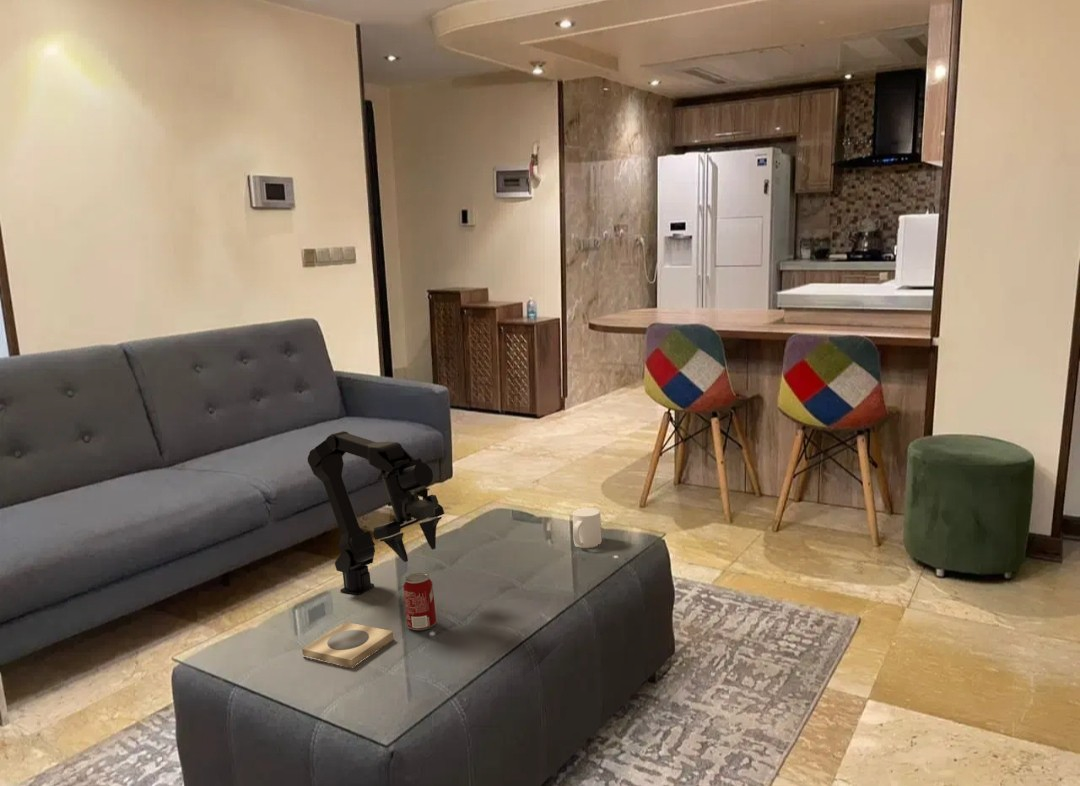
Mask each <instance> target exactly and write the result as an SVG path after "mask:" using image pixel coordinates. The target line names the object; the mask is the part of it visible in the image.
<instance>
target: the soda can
mask: <svg viewBox="0 0 1080 786" xmlns="http://www.w3.org/2000/svg"><path fill="white" fill-rule="evenodd" d="M404 581H405V582H404V583H403V587H402V588H403V598H404V599H403V600H404V607H405V608H404V609H405V616H406V617H405V618H406V626H407V628H408V629H411V630H413V631H418V632H420V631H421V632H423V631H427V630H429V629H431V628H432V627H434V626H435V625H436V623H437V615H436V614H437V613H436V606H435V605H436V604H435V595H434V585H433V581H432V580H431V579H430V575H429V574H428V573H426V572H416V573H412V574H411V573H410V574H409V575H407V576H406V577H405V579H404Z"/></svg>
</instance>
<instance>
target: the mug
mask: <svg viewBox="0 0 1080 786" xmlns="http://www.w3.org/2000/svg"><path fill="white" fill-rule="evenodd" d="M601 520H602V518H601V510H600V509H598V508H595V507H582V508H578V509H575V510H574V511H573V512H572V530H573V531H572V535H573V544H574V546H575V547H576V548H578V547H579V549H591V548H595V547H598V546H599V545H600V544H602V540H603V539H602V529H601V527H602V521H601ZM598 544H599V545H598ZM590 547H591V548H590Z"/></svg>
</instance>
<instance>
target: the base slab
mask: <svg viewBox="0 0 1080 786" xmlns="http://www.w3.org/2000/svg"><path fill="white" fill-rule="evenodd" d="M394 638H395V637H394V632H393V630H388V629H383V628H377V627H372V626H368V625H362V624H357V623H354V622H353V623H352V622H348V621H345V622H343V623H342V624H340V625H339V626H337V627H335V628H334V629H332V630H331V631H329V632H327V633H325V634H324V635H322V636H320V637H319V638H317V639H316V640H314V641H313V642H311V643H309V644H308V645H306V646H305V647H303V648H302V649H301V651H302V656H303V655H304V656H308V657H312V658H316V659H320V660H323V661H327V662H330V663H335V664H339V665H342V666H347V667H351V668H352V667H354V666H355V665H356V664H357V663H359V662H360V661H361V660H363V659H364V658H366V657H367V656H369V655H371V654H372V653H374V652H375V651H376V650H378V649H380V648H381V649H382V647H383V646H384V647H385V646H387V645H388V644H390V643H391V642H392V641H394V640H395V639H394ZM389 642H390V643H389ZM384 647H383V648H384ZM381 649H380V650H381ZM378 651H379V650H378ZM375 653H376V652H375ZM375 653H374V654H375ZM371 656H372V655H371ZM342 666H341V667H342ZM355 667H356V666H355ZM355 667H354V668H355ZM351 668H350V669H351Z"/></svg>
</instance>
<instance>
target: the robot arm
mask: <svg viewBox="0 0 1080 786" xmlns="http://www.w3.org/2000/svg"><path fill="white" fill-rule="evenodd" d="M346 453H347V454H350V455H353V456H356V457H359V458H362V459H364V460H366V461H367V462H368V463H369V465H370V466H372V467H373V468H375V469H377V470H379V471H380V473H379V475H378V476H377V481H378V482H380V481H383V483H384V485H385V489H386V492H387V496H388V498H389V501H387V503H386V504H387V506H388V507H392V510H393V515H394V518H392V521H390V522H386V523H384V524H381V525H379V526H376V527H374V528H373V532H372V534H373V537H374V540H375V541H376V540H379V541H380V543H381V542H384V543H385V544H386V545H387V546H388V547H390V549H391V550H392V551H393V552H394V553H395V554H396V555H398V557H399V558H400V559H401V560H402V561H403V562H404V563H406V562H408V560H409V559H408V553H407V551H406V548H405V544H404V541H403V539H404V538H403V537H404V532H401V531H402V529H403V528H406V527H408V526H411V525H413V524H415V523H418V522H419V527H420V529H421V531H422V533H423V536H424V537H425V539H426V542H427V543H428V546H429V547H430V549H431V550H435V549H436V546H437V541H436V540H437V536H436V535H437V525H438V524H439V522H440V520H442V519H443V518H442V517H443V515H446V513H445V510H444V506H442V505H440V504H439V500H438V498H437V495H435V494H430V495H427V496H425V498H423V499H420V497H419V495H418V493H417V492H415V493H413V491H415V490H418V489H421V488H424V487H427V486H429V485H431V484H432V482H433V478H434V474H433V470H432V468H431V467H430V466H429V465H428V464H427V463H425V462H423V461H422V458H421V457H419V458H416V459H414V457H413V456H411V454H410V453H408V452H407V450H405V449H404V447H403V446H402V444H401V443H399V442H398V441H397V442H396V441H373V440H371V439H367V438H364V437H361V436H359V435H354V434H351V433H349V432H348V431H344V430H343V431H338V432H334V433H331V434H330V435H328V436H327V437H326V439H325V440H324V441H322V442H320V443H319V444H317V445H316V446H315V447H314V448H313V449H311V450H310V451H309V454H308V456H307V463H308V465H309V467H310V469H311V472H312V474H313V475H314V476H315V477H316V478H318V479H319V480H320V481H321V482H322V483H323V486H324V488H325V491H326V493H327V497H328V500H329V503H330V506H331V509H332V512H333V514H334V517H335V520H336V524H337V526H338V529H339V531H340V539H339V543H338V547H339V556H338V557H337V559H336V560H335V561H334V566H335V569H336V571H337V572H340V573H342V578H343V587H342V588H341V589H340V590H339V591H340V592H341V593H345V594H346V593H347V594H352V595H358V596H359V595H361V594H363V593H365V592H366V591H367V590H369V589H371V588H373V587H374V586H375V583H373V582H371V574H370V571H369V566H368V565H370V564H374V557H375V552H376V548H375V546H376V544H375V542H374V540H373V538H372V534H371V532H370V530H367V531H365V530H364V529H363V528H362V527H360V524H359V522H358V518H357V515H356V513H355V510H354V507H353V505H352V502H351V499H350V495H349V493H348V490H347V487H346V484H345V482H344V478H343V470H344V465H345V463H344V460H343V459H344V458H343V457H344V455H346ZM420 521H421V522H420ZM400 532H401V533H400Z"/></svg>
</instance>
